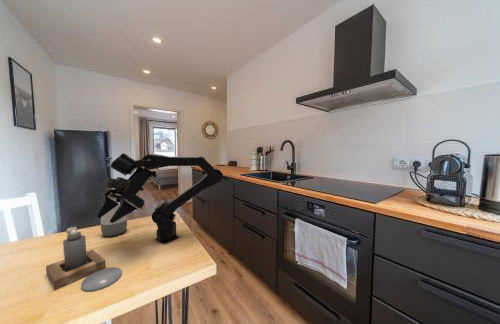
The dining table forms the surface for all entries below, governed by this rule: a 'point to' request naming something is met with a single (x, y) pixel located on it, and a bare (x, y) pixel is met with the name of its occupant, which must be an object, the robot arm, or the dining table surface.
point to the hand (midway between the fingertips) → (104, 219)
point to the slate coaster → (101, 279)
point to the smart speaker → (113, 224)
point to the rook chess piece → (71, 230)
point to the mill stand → (74, 270)
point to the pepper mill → (74, 250)
